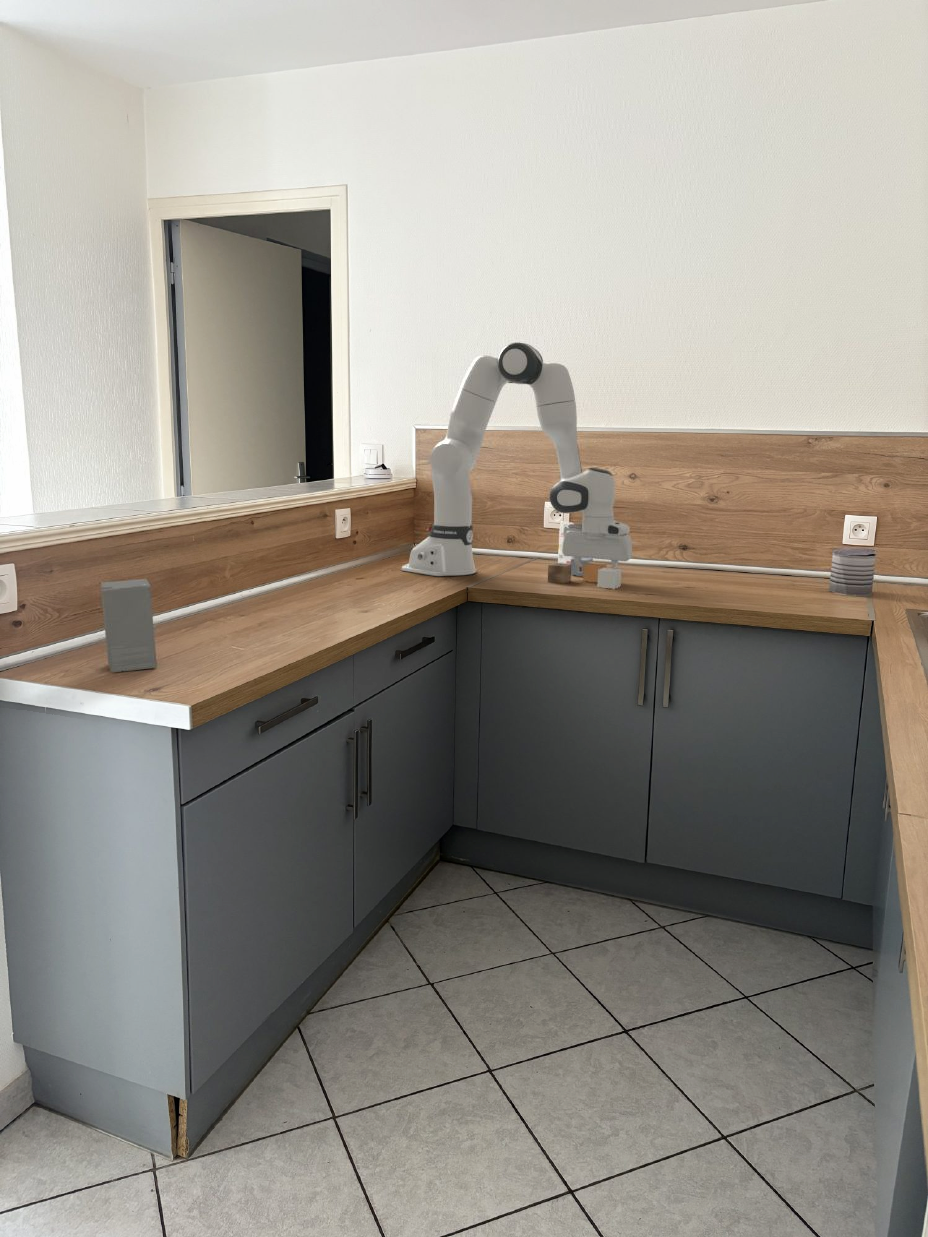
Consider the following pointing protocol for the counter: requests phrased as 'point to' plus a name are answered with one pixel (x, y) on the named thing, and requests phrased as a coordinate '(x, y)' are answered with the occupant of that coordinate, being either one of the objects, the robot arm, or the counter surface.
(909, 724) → the counter surface
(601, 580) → the grey cube
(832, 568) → the can
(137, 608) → the skincare box
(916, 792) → the counter surface
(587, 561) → the slate cube
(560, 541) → the ink cartridge box
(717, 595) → the counter surface
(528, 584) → the counter surface
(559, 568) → the walnut cube
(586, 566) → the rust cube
